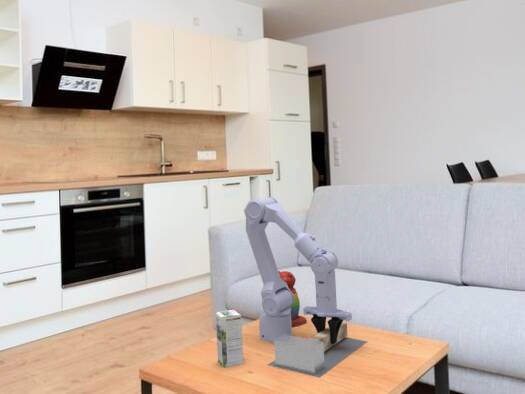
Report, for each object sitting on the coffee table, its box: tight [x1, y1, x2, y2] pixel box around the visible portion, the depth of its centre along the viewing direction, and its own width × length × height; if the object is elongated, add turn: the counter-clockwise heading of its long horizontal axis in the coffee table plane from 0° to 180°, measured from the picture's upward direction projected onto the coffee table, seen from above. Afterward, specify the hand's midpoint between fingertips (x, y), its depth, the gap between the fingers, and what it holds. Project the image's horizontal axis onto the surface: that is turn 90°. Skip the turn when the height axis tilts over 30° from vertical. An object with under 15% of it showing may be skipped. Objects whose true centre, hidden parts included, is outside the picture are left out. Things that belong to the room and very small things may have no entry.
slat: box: [308, 321, 349, 351], centre depth 144 cm, size 18×3×4 cm, turn 144°
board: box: [267, 336, 368, 378], centre depth 140 cm, size 16×28×1 cm, turn 144°
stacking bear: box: [278, 270, 308, 328], centre depth 170 cm, size 11×10×18 cm
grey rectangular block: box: [273, 335, 325, 374], centre depth 131 cm, size 12×5×7 cm, turn 54°
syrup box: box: [215, 309, 244, 369], centre depth 137 cm, size 6×6×14 cm
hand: (328, 341), depth 144 cm, fingers closed on slat, 3 cm apart
